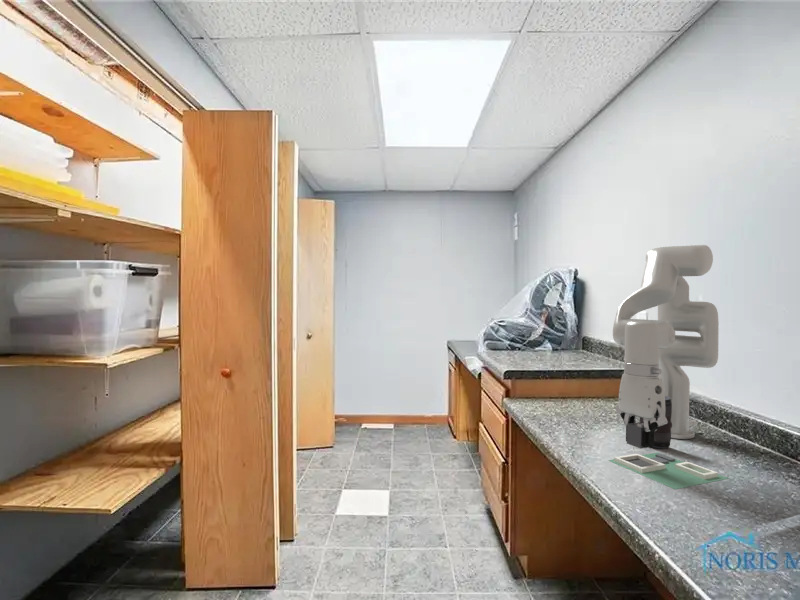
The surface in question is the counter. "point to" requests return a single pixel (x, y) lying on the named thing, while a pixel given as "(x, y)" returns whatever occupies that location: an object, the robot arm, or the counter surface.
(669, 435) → the camera lens
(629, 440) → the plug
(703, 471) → the board
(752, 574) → the counter surface
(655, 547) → the counter surface
